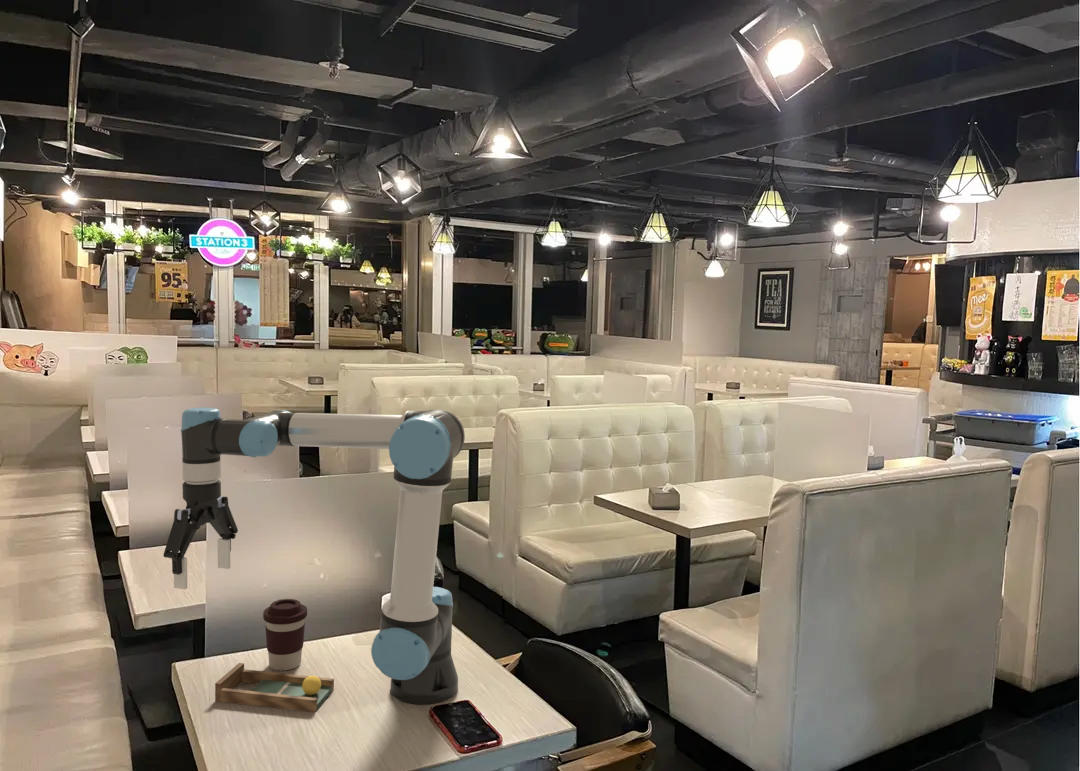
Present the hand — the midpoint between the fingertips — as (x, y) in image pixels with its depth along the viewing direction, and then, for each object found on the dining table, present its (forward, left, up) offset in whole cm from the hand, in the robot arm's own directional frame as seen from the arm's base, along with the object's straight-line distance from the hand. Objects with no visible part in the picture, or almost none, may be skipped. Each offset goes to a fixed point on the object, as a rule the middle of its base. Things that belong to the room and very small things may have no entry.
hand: (203, 577), depth 169 cm
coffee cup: (-10, -17, -27) cm, 33 cm away
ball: (-23, -3, -23) cm, 33 cm away
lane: (-15, -3, -26) cm, 31 cm away
